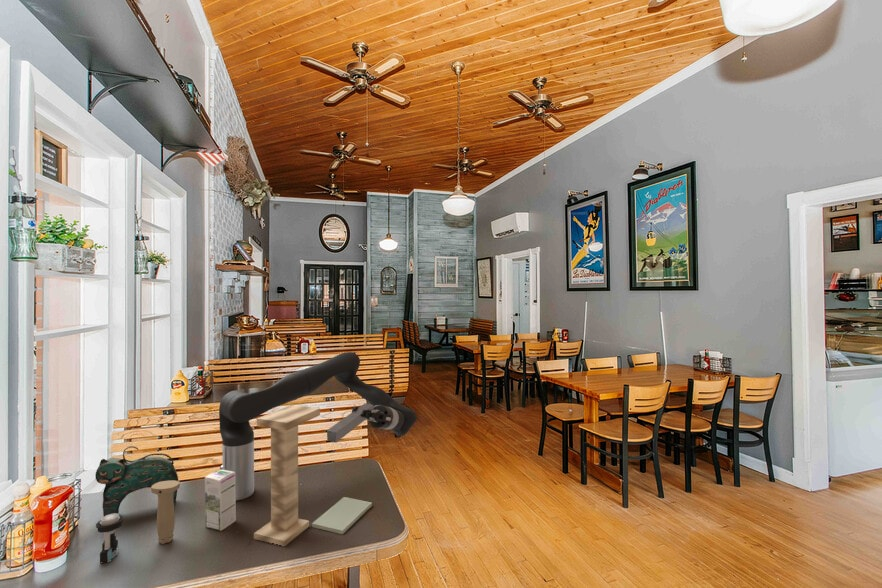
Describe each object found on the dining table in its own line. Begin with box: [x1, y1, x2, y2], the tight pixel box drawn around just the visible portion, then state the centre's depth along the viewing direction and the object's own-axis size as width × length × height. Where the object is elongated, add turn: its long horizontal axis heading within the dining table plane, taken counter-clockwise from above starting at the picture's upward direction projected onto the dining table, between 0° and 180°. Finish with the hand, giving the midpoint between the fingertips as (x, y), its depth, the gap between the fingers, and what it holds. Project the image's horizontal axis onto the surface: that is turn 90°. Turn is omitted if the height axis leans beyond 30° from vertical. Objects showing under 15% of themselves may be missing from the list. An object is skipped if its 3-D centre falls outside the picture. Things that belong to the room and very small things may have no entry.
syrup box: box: [204, 468, 237, 532], centre depth 119 cm, size 6×6×14 cm
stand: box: [253, 404, 321, 548], centre depth 117 cm, size 10×15×32 cm, turn 160°
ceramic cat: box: [94, 445, 179, 517], centre depth 126 cm, size 20×6×20 cm, turn 123°
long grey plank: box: [326, 402, 373, 443], centre depth 125 cm, size 3×19×3 cm, turn 157°
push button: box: [95, 513, 124, 564], centre depth 105 cm, size 7×5×10 cm
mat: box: [311, 496, 373, 535], centre depth 123 cm, size 10×16×1 cm, turn 160°
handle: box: [150, 480, 181, 545], centre depth 111 cm, size 5×6×15 cm
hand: (358, 412), depth 128 cm, fingers closed on long grey plank, 3 cm apart
